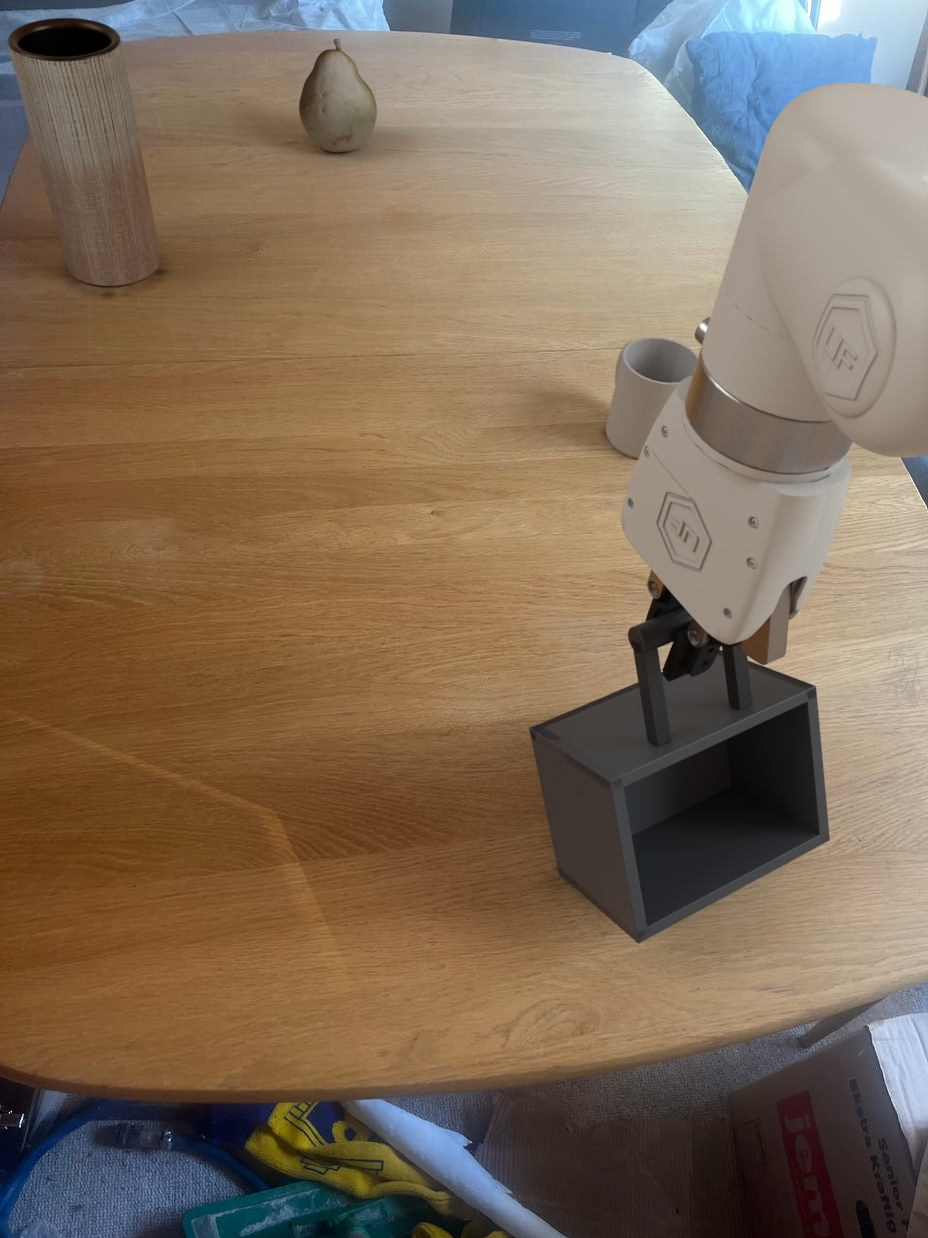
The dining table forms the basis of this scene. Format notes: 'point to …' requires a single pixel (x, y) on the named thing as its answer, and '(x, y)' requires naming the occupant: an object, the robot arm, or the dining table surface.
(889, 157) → the robot arm
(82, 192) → the planter
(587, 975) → the dining table surface
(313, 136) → the fruit
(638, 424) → the cup
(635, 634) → the grey tool caddy
